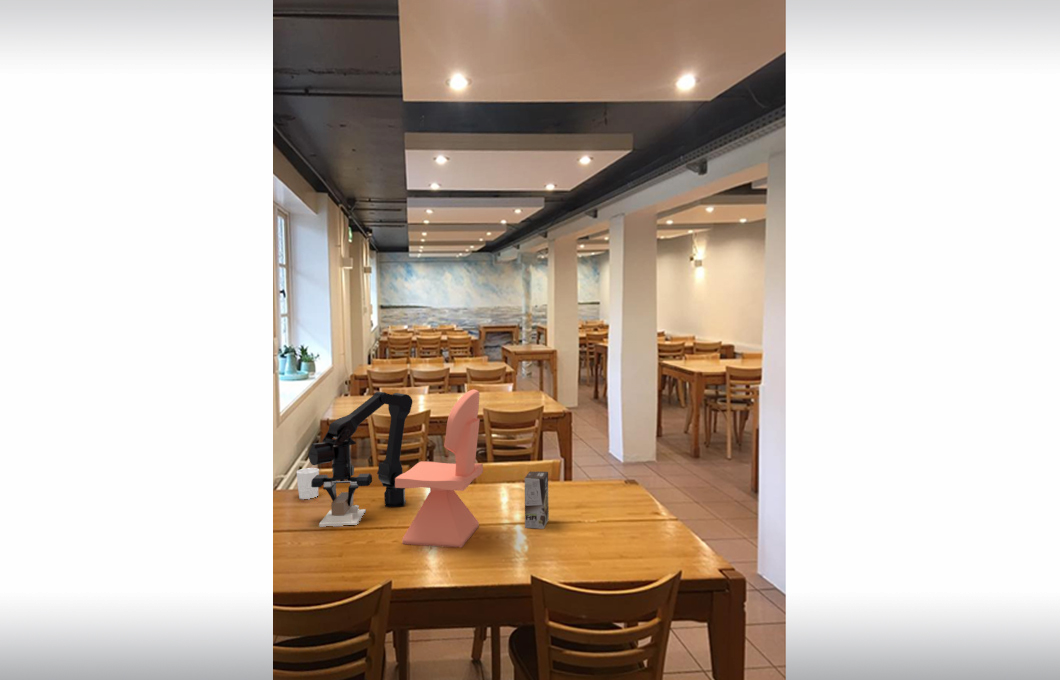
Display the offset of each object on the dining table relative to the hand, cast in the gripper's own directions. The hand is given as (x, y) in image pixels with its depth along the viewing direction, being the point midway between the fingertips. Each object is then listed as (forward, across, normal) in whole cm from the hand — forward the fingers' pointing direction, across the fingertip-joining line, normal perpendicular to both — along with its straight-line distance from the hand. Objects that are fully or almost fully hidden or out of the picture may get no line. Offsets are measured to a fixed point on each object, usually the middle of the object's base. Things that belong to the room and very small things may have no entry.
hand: (342, 505), depth 219 cm
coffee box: (+5, -64, +10) cm, 65 cm away
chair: (+5, -35, +18) cm, 40 cm away
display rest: (+4, 0, 0) cm, 4 cm away
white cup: (+5, +19, -27) cm, 33 cm away
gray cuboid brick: (+1, 0, 0) cm, 1 cm away
